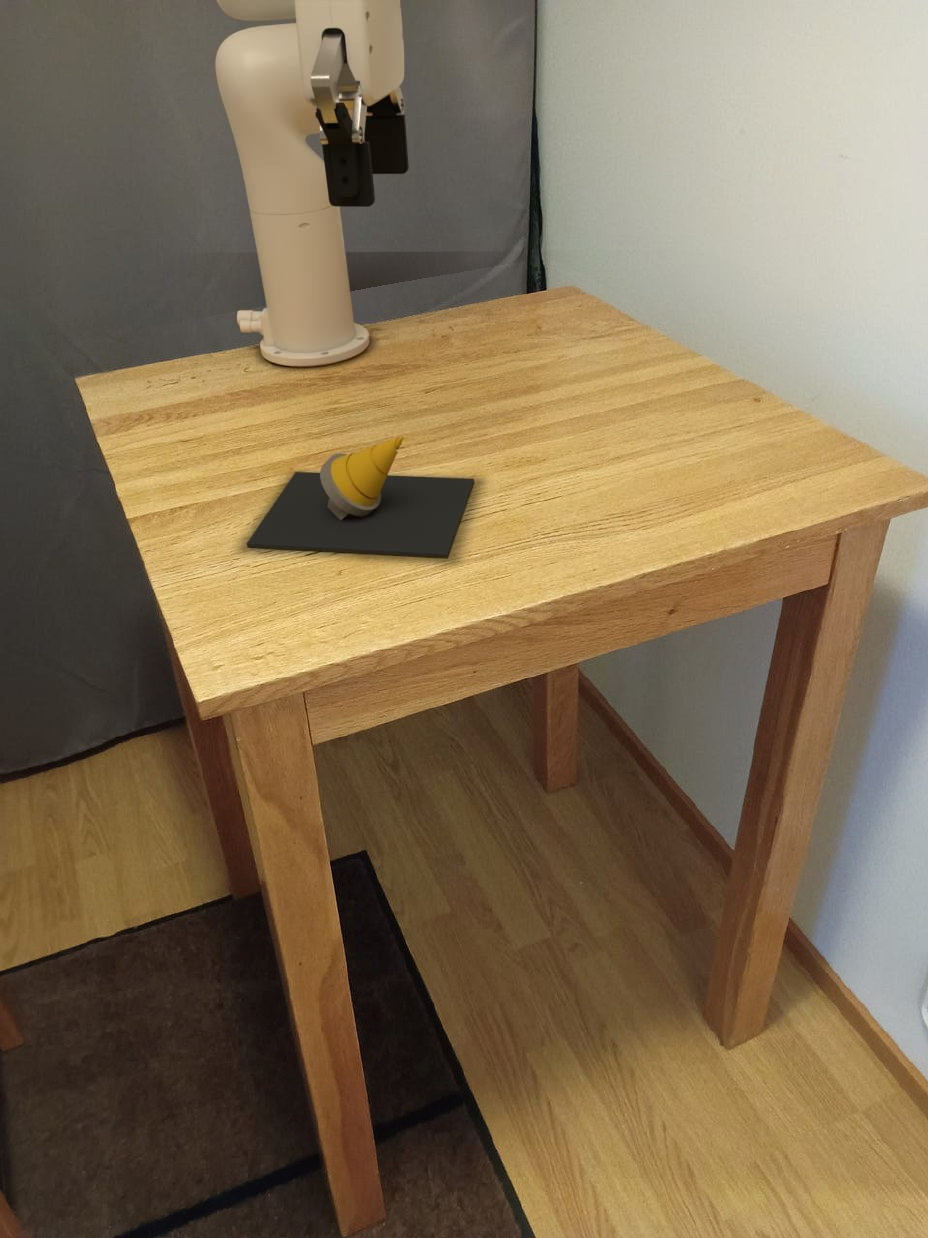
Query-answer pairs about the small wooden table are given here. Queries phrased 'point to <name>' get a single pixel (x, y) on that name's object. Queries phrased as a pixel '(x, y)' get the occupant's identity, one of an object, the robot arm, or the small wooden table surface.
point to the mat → (368, 518)
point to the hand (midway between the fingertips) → (371, 188)
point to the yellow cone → (358, 478)
